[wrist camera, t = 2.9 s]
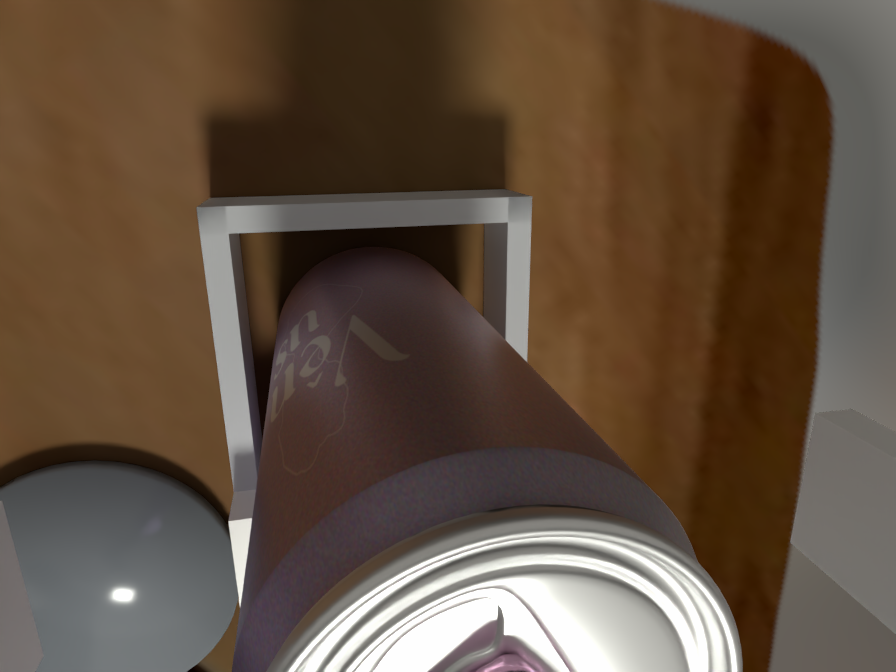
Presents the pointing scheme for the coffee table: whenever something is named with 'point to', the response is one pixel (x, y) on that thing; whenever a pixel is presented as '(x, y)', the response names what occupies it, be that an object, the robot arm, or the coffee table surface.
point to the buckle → (235, 215)
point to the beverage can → (450, 503)
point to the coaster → (120, 567)
